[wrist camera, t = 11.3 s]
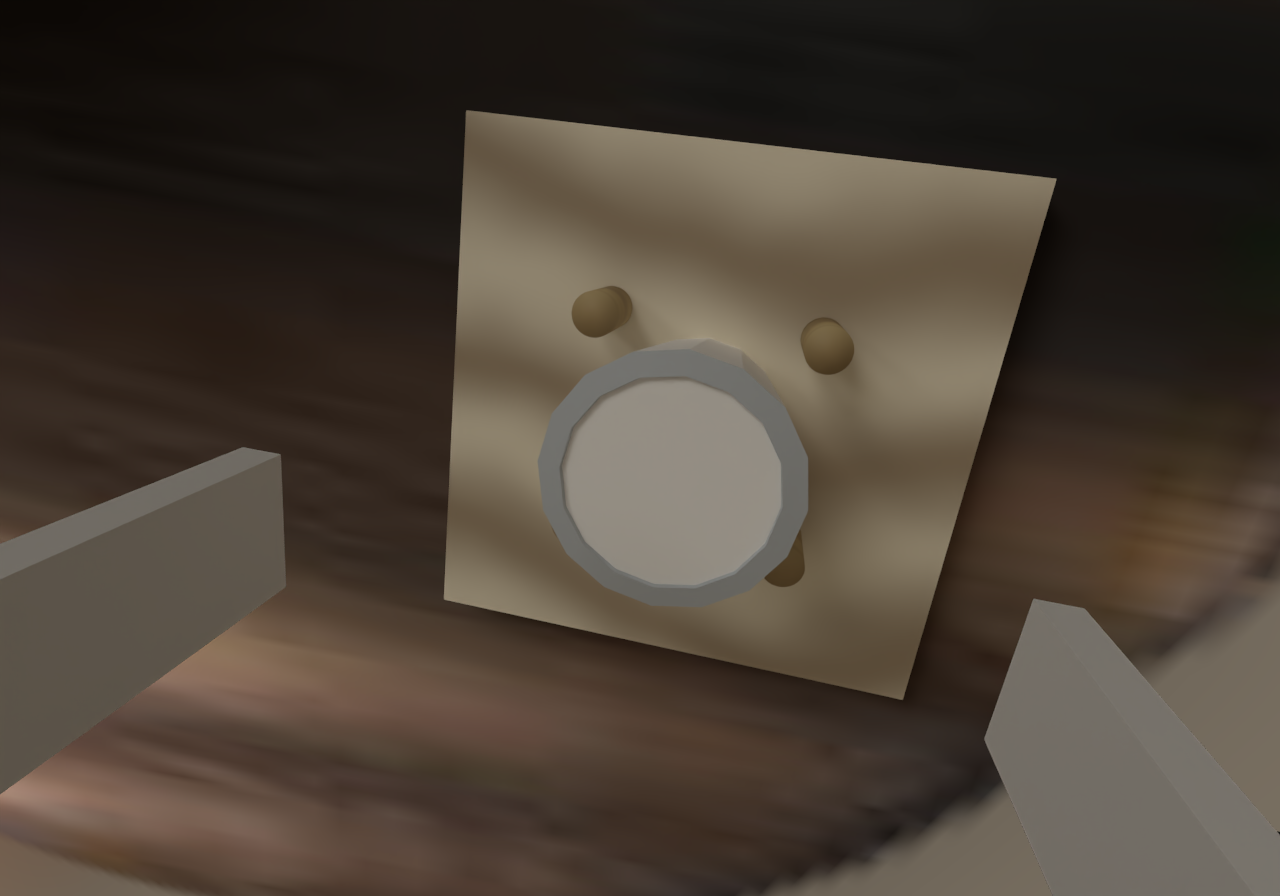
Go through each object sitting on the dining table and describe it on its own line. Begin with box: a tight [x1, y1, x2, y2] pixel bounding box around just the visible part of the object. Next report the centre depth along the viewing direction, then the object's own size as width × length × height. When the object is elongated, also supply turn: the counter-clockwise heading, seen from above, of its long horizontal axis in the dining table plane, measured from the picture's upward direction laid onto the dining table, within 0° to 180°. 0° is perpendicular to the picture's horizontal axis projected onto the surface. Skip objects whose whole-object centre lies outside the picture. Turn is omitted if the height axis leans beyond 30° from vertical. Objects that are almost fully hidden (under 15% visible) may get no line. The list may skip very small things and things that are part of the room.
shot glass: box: [538, 338, 808, 607], centre depth 20 cm, size 7×7×7 cm
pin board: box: [444, 110, 1056, 700], centre depth 23 cm, size 18×18×4 cm
